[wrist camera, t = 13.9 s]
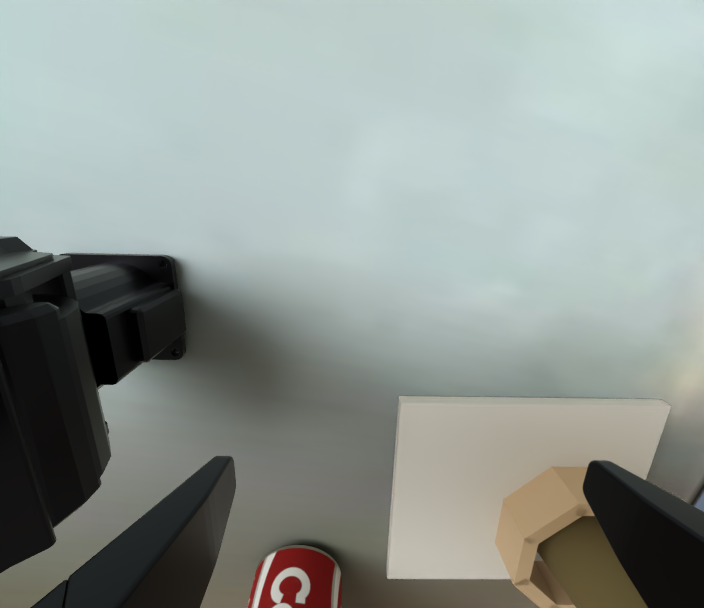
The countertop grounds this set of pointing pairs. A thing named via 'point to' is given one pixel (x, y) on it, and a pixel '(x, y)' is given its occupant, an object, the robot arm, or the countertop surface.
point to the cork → (588, 567)
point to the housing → (504, 481)
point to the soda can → (296, 579)
